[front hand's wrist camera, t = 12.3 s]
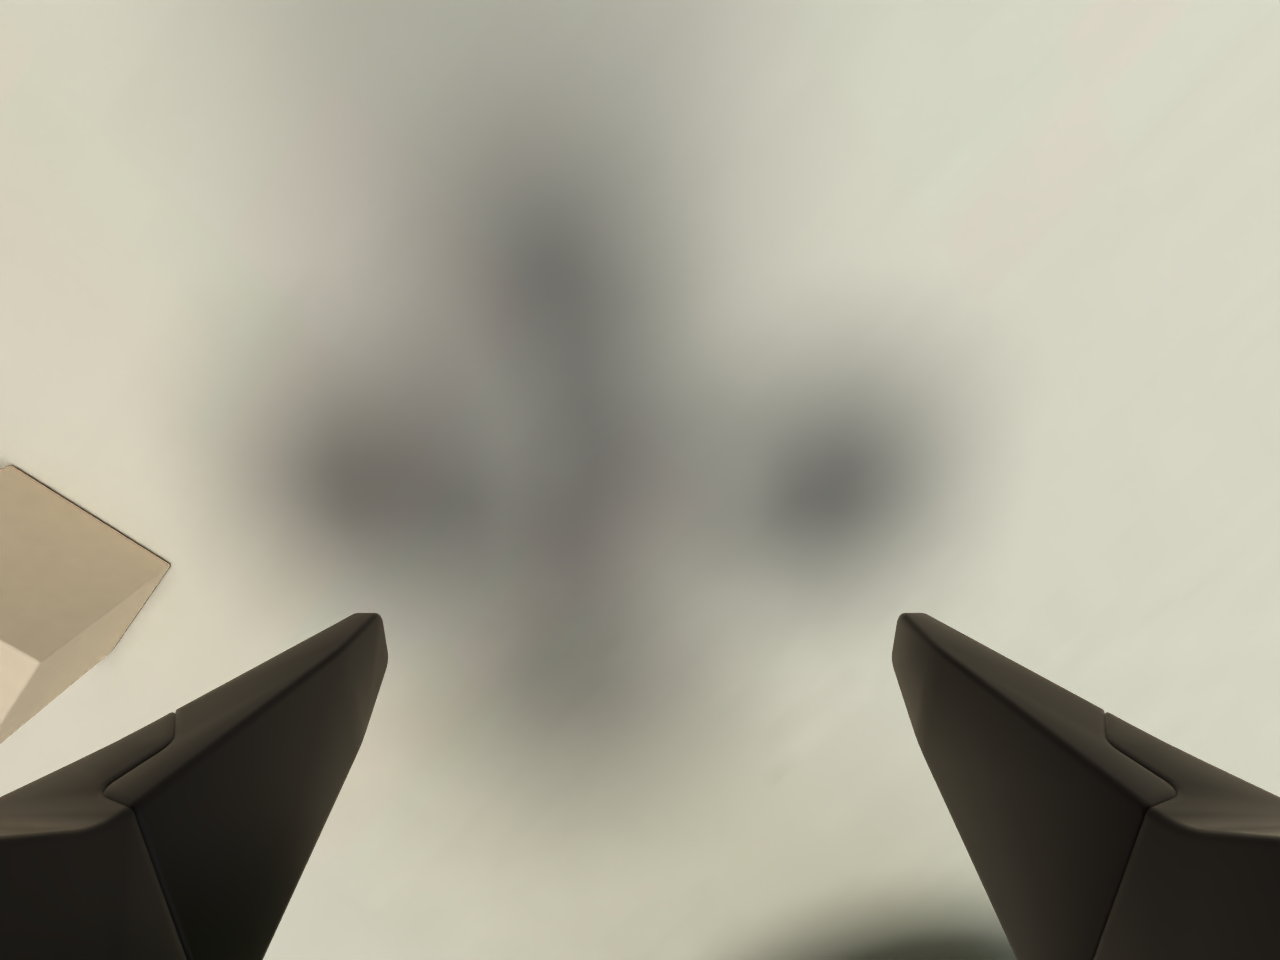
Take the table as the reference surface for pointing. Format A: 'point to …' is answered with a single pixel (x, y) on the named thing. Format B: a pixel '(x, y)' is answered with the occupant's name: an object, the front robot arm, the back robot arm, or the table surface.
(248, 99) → the table surface
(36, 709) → the beige cube block
